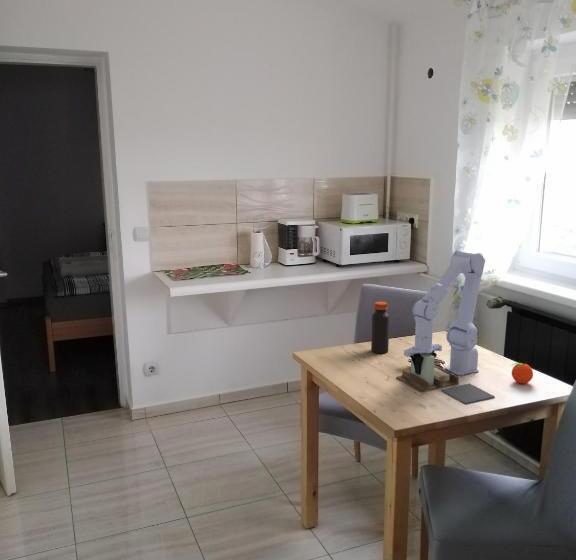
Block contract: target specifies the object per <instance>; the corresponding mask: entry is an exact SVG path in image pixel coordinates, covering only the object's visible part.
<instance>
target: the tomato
mask: <svg viewBox="0 0 576 560" xmlns="http://www.w3.org/2000/svg"><path fill="white" fill-rule="evenodd" d="M512 366H513V368H512V369H511V376H512V379H513V380H514V381H515V382H516V383H518V384H528V383H529V382H531V380H532V379H533V377H534V371H533V369H532V367H531V366H530V365H529V364H527V363H523V362H515V363H513V364H510V366H509V368H510V367H512ZM509 368H508V369H509Z"/></svg>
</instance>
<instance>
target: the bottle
mask: <svg viewBox="0 0 576 560" xmlns="http://www.w3.org/2000/svg"><path fill="white" fill-rule="evenodd" d="M374 310H375V311H374V312H373V314H371V339H370V340H371V344H370V345H371V346H370V351H371V352H372V353H374V354H378V355H380V354H381V355H382V354H383V355H384V354H387V353H388V352H389V346H390V345H389V343H390V342H389V341H390V339H389V338H390V334H389V333H390V315H389V313H388V312H387V310H388V303H387V302H386V301H375V302H374Z"/></svg>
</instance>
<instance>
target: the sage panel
mask: <svg viewBox="0 0 576 560" xmlns="http://www.w3.org/2000/svg"><path fill="white" fill-rule="evenodd" d="M420 355H421V357H423V358H424V359H423V361H422V366H421V374H420V375H418V374H416V373H415V368H414V365H413V362H412V359H411V358H410V373H412V374H414V375H416V376H417V377H419V378H421V379H423V380H424V381H426V382H428V383H429V385H433V384H434V365H435V362H436V361H435V360H436V358H435V356H433V355H430V354H428V353H422V354H420Z"/></svg>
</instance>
